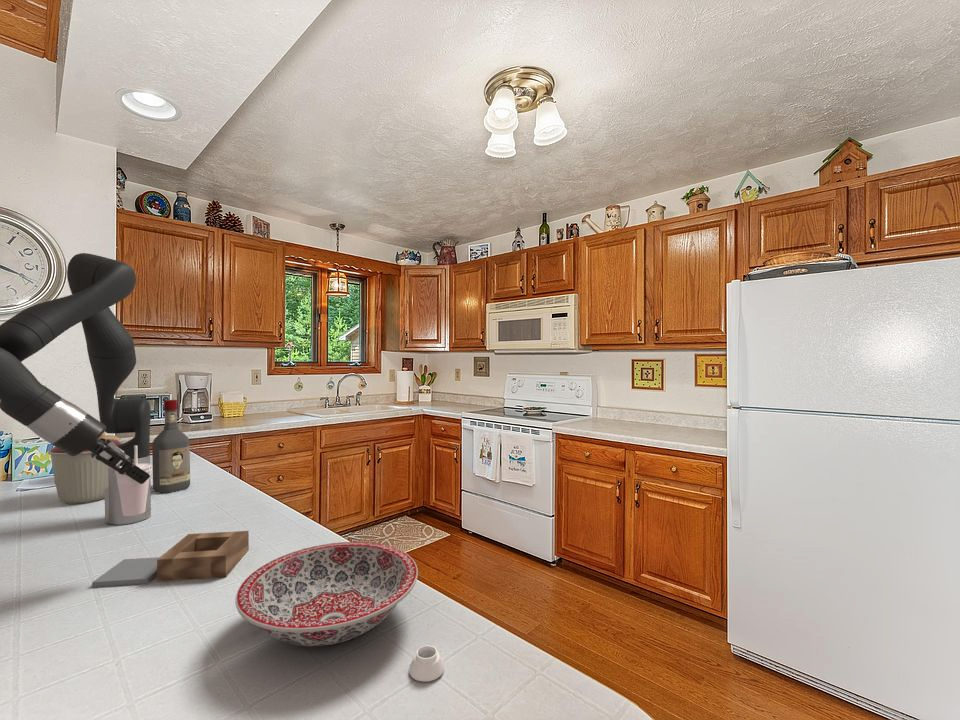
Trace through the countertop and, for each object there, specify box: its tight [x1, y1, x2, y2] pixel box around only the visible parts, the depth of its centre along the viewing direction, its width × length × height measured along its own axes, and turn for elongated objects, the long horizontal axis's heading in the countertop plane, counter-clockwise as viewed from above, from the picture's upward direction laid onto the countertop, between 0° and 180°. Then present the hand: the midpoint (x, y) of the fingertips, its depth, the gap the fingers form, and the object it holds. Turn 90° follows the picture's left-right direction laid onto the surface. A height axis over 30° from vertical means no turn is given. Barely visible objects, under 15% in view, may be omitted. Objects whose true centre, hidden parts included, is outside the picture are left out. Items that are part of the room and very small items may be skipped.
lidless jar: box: [408, 644, 445, 682], centre depth 67 cm, size 5×3×5 cm
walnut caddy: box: [156, 530, 250, 582], centre depth 100 cm, size 13×13×4 cm
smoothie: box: [114, 445, 153, 516], centre depth 96 cm, size 6×6×14 cm
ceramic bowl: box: [234, 541, 419, 647], centre depth 78 cm, size 29×29×8 cm
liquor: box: [151, 399, 191, 494], centre depth 154 cm, size 9×9×30 cm
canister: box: [46, 439, 124, 505], centre depth 144 cm, size 18×18×21 cm
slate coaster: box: [91, 556, 161, 588], centre depth 96 cm, size 10×10×1 cm
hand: (143, 476), depth 97 cm, fingers closed on smoothie, 6 cm apart
